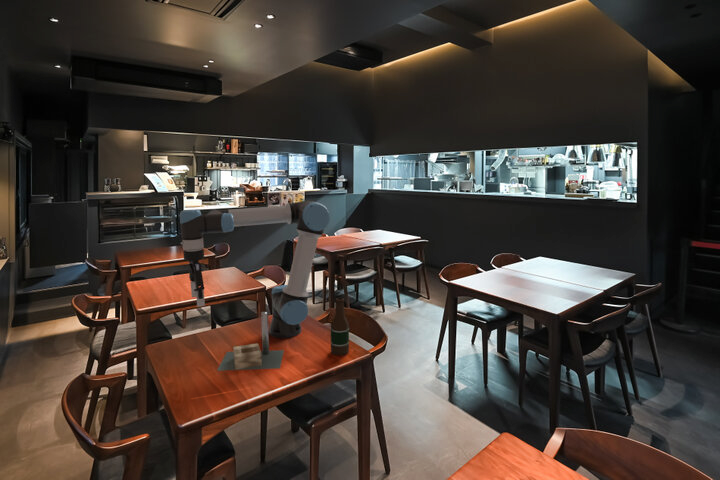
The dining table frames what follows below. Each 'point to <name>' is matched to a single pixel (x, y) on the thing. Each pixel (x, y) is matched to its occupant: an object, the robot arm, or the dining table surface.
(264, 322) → the metal peg
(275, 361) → the felt mat
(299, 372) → the dining table surface
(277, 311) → the robot arm
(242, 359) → the wooden square socket block
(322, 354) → the dining table surface
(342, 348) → the beer bottle
